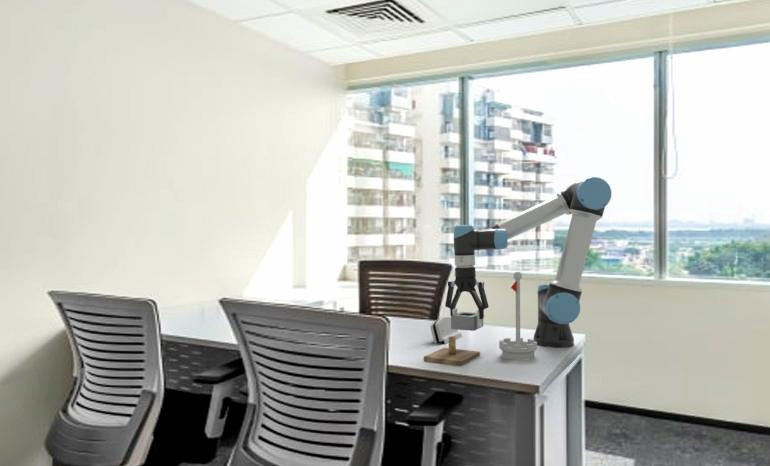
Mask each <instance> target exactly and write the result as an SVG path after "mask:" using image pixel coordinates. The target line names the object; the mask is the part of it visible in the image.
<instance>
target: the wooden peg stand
mask: <svg viewBox="0 0 770 466" xmlns="http://www.w3.org/2000/svg"><path fill="white" fill-rule="evenodd" d="M456 341H457V339H456V337H454V336H450V337H449V343H448V347H442V348H441V349H438V350H435V351H434V352H430V353H428V354H426V355H424V356H423V361H424V362H429V363H430V362H431V363H437V364H443V365H444V364H446V365H452V366H460V367H462V366H463V365H466V364H468V363H469V362H471V361H473V360H475V359H478V358H479V357H481V352H480V351H477V350H476V351H475V350H467V349H460V348H457V347H456V346H457V345H456V344H457V343H456Z"/></svg>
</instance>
